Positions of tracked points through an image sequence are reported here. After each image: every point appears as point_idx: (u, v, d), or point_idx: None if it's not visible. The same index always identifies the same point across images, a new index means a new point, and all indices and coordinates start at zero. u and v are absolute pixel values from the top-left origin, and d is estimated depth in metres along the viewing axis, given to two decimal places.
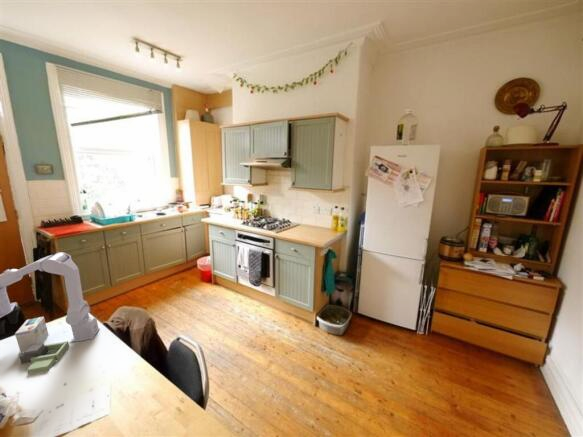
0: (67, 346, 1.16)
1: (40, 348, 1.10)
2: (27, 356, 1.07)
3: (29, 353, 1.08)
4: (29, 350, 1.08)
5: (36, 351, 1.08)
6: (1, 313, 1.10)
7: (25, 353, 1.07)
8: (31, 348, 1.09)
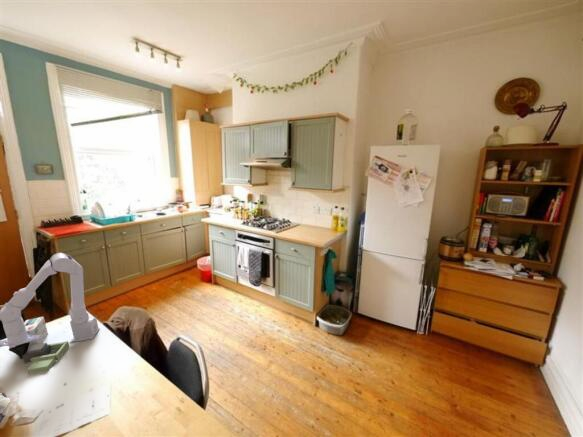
0: (67, 346, 1.16)
1: (43, 347, 1.10)
2: (31, 355, 1.08)
3: (32, 352, 1.08)
4: (32, 349, 1.08)
5: (39, 350, 1.09)
6: (27, 335, 1.09)
7: (28, 352, 1.08)
8: (35, 347, 1.10)
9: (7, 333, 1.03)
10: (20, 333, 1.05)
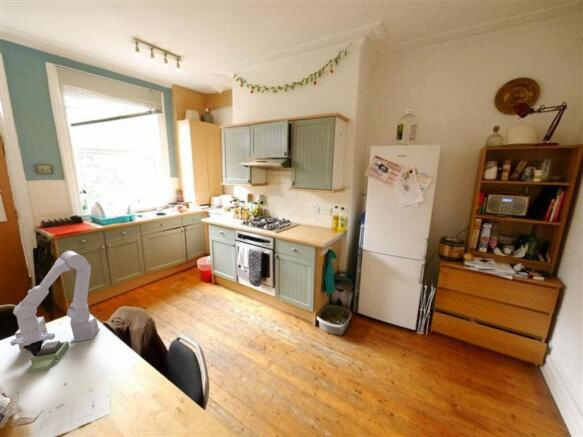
0: (67, 346, 1.16)
1: (56, 345, 1.11)
2: (45, 353, 1.09)
3: (46, 350, 1.09)
4: (46, 347, 1.10)
5: (53, 348, 1.10)
6: (41, 333, 1.10)
7: (42, 350, 1.09)
8: (48, 345, 1.11)
9: (23, 331, 1.04)
10: (34, 331, 1.07)
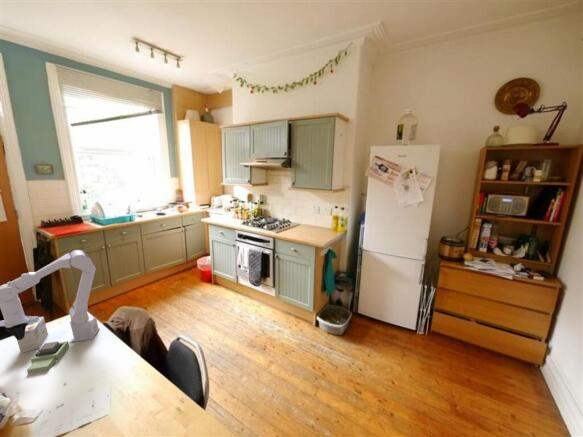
0: (67, 346, 1.16)
1: (55, 346, 1.11)
2: (43, 354, 1.09)
3: (45, 350, 1.09)
4: (45, 348, 1.09)
5: (51, 349, 1.10)
6: (25, 316, 1.08)
7: (41, 350, 1.09)
8: (47, 345, 1.11)
9: (3, 313, 1.02)
10: (17, 313, 1.04)
